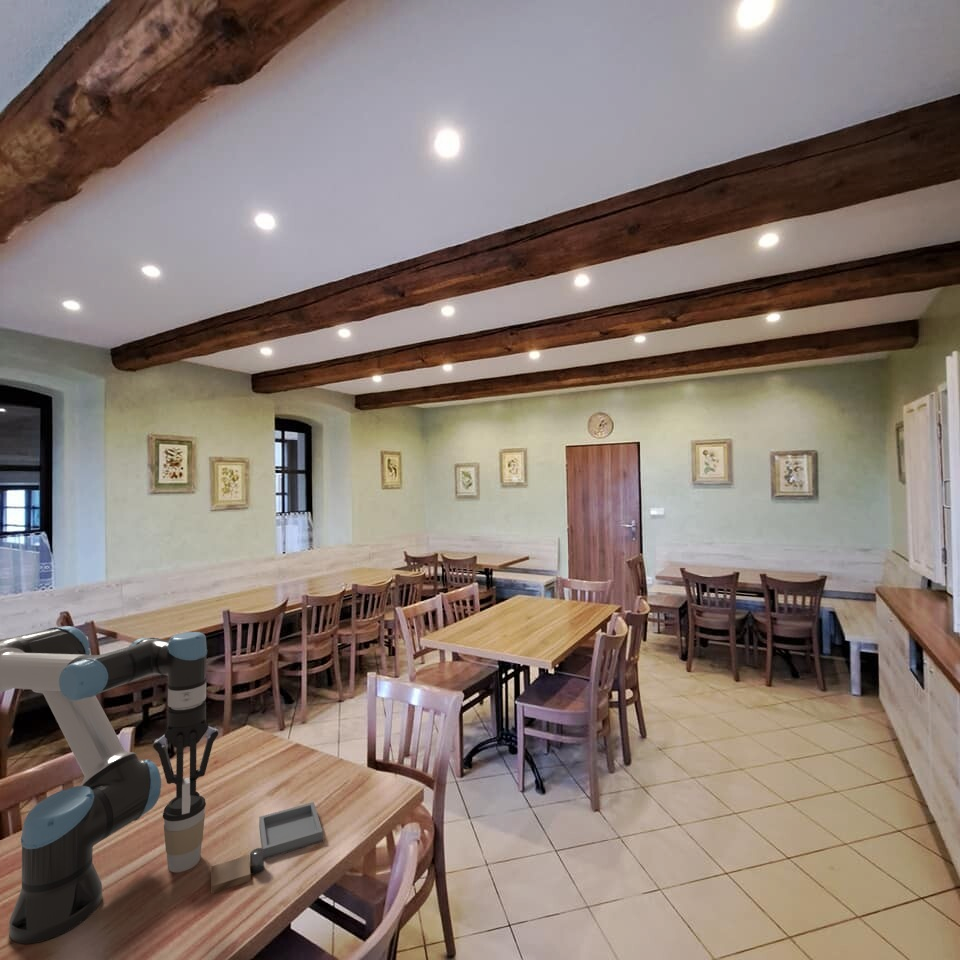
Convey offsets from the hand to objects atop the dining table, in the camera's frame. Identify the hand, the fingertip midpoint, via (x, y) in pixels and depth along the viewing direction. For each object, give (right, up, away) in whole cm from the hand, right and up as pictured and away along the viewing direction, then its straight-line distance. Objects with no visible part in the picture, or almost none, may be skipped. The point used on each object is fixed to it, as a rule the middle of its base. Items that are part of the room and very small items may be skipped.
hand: (186, 810), depth 114 cm
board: (+8, -18, +4) cm, 21 cm away
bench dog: (+13, -18, +6) cm, 23 cm away
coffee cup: (-6, -18, +9) cm, 21 cm away
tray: (+16, -18, +19) cm, 31 cm away
